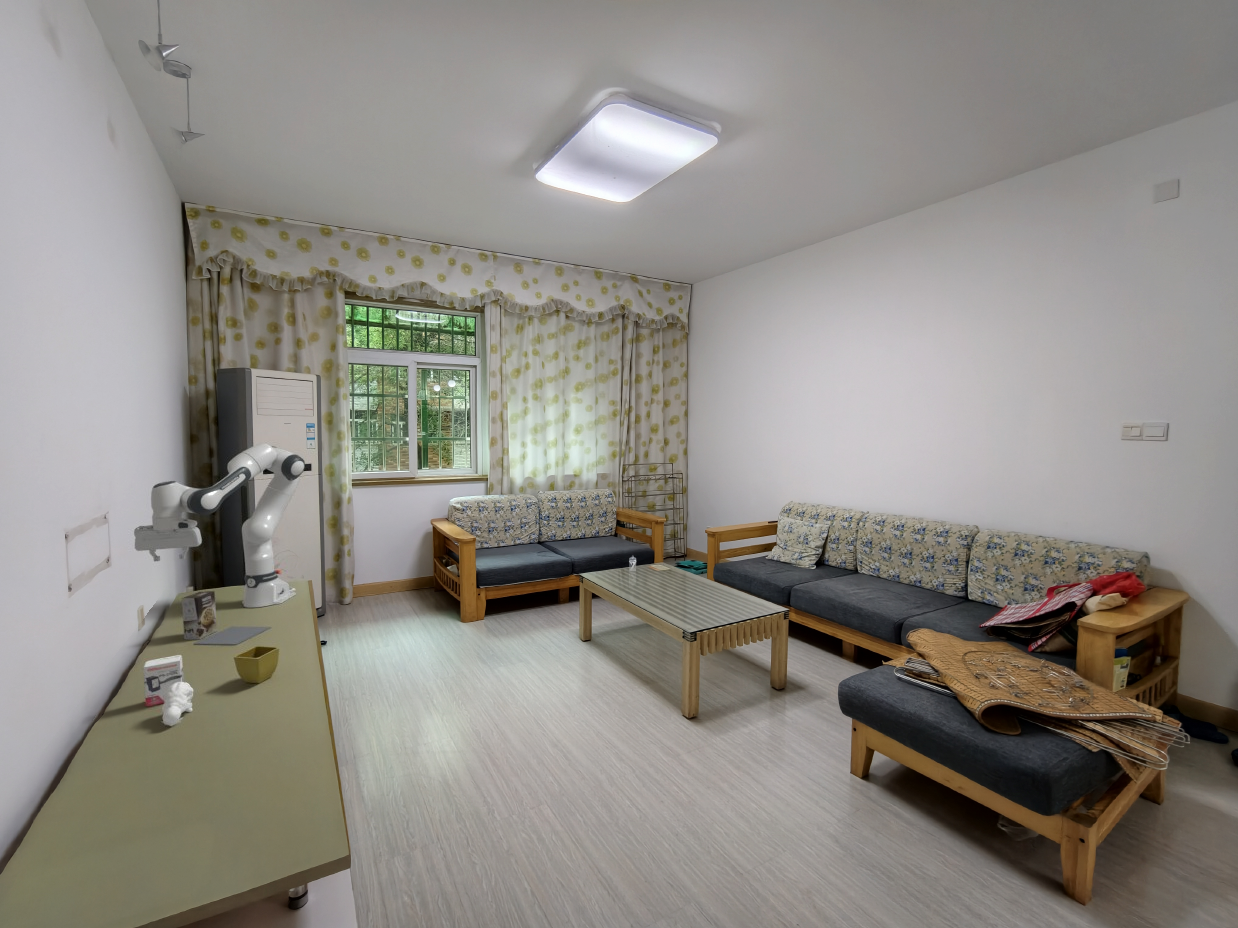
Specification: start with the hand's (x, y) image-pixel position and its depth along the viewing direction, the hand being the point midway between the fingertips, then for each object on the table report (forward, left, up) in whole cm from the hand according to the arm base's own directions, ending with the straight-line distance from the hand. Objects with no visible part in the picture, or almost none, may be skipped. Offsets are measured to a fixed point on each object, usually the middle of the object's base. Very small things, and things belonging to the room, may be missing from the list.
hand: (169, 559), depth 216 cm
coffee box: (0, +11, -30) cm, 31 cm away
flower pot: (+36, +63, -30) cm, 78 cm away
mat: (0, +24, -29) cm, 38 cm away
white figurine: (+60, +58, -30) cm, 89 cm away
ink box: (+50, +45, -30) cm, 73 cm away
